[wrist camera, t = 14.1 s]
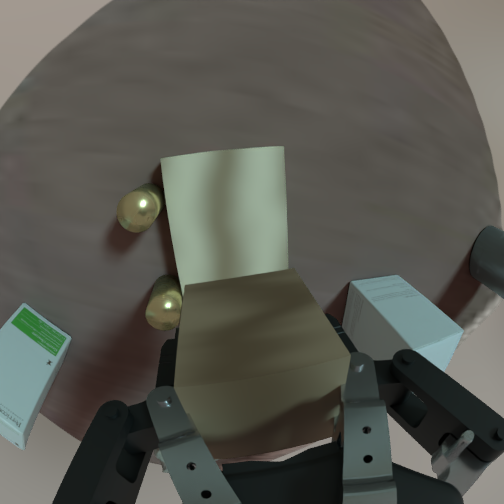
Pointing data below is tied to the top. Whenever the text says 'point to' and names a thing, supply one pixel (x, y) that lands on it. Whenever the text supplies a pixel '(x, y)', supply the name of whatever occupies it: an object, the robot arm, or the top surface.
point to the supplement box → (397, 321)
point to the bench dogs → (167, 286)
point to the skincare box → (27, 370)
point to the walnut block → (258, 364)
